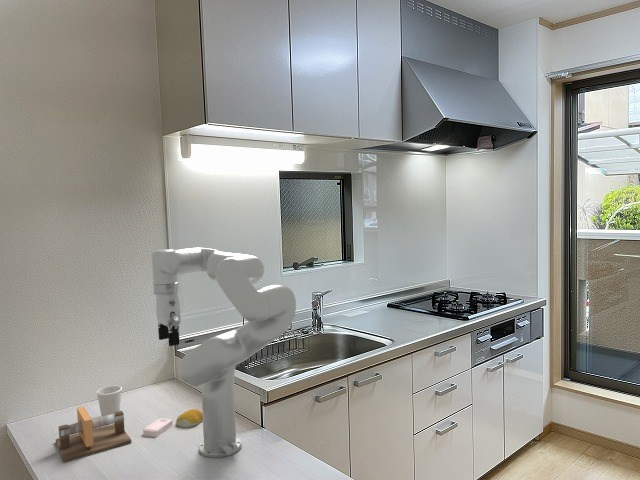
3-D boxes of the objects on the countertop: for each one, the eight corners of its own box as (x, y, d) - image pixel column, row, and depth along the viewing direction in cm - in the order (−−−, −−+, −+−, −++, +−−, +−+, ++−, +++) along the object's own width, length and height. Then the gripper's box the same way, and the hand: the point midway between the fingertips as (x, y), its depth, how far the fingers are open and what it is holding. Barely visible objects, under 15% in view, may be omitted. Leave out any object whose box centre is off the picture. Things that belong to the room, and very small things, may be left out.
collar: (93, 445, 150) (91, 419, 149) (86, 447, 149) (84, 421, 148) (85, 430, 160) (83, 406, 160) (78, 432, 159) (76, 407, 159)
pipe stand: (131, 442, 155) (130, 419, 154) (63, 462, 144) (62, 437, 143) (118, 425, 168) (117, 403, 167) (55, 442, 157) (54, 418, 156)
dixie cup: (114, 423, 170) (112, 394, 169) (92, 421, 172) (90, 393, 171) (128, 413, 178) (126, 385, 177) (107, 411, 180) (106, 384, 179)
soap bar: (142, 436, 160) (142, 428, 160) (159, 424, 169) (159, 417, 168) (156, 438, 158) (156, 430, 158) (173, 425, 167) (172, 418, 167)
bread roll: (207, 418, 172) (207, 407, 172) (193, 429, 163) (192, 417, 163) (187, 415, 175) (186, 404, 174) (171, 426, 166) (171, 414, 166)
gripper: (187, 290, 152) (190, 345, 153) (168, 284, 166) (171, 334, 167) (163, 293, 147) (166, 350, 148) (145, 287, 161) (148, 338, 162)
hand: (169, 342), depth 158 cm, fingers open, 9 cm apart
